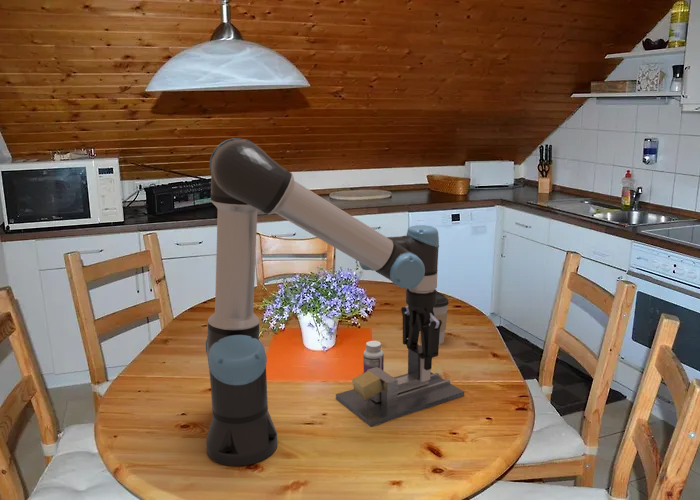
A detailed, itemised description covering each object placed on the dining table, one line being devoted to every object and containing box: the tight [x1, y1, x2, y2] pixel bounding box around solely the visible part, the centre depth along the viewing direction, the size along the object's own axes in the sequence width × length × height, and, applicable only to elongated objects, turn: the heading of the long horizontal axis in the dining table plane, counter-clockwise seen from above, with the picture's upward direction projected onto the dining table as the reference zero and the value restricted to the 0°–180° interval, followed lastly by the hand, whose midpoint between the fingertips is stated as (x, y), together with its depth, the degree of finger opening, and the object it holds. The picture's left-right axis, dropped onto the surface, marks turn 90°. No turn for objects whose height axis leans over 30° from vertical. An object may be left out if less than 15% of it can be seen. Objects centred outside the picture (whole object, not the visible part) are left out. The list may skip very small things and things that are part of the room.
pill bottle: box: [363, 340, 385, 373], centre depth 164 cm, size 5×5×10 cm
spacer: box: [351, 371, 383, 400], centre depth 147 cm, size 5×5×4 cm
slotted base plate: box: [335, 367, 465, 428], centre depth 153 cm, size 28×16×8 cm, turn 121°
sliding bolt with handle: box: [370, 344, 429, 403], centre depth 152 cm, size 16×4×10 cm, turn 121°
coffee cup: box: [424, 291, 449, 346], centre depth 187 cm, size 9×9×15 cm
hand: (419, 376), depth 156 cm, fingers closed on sliding bolt with handle, 4 cm apart
